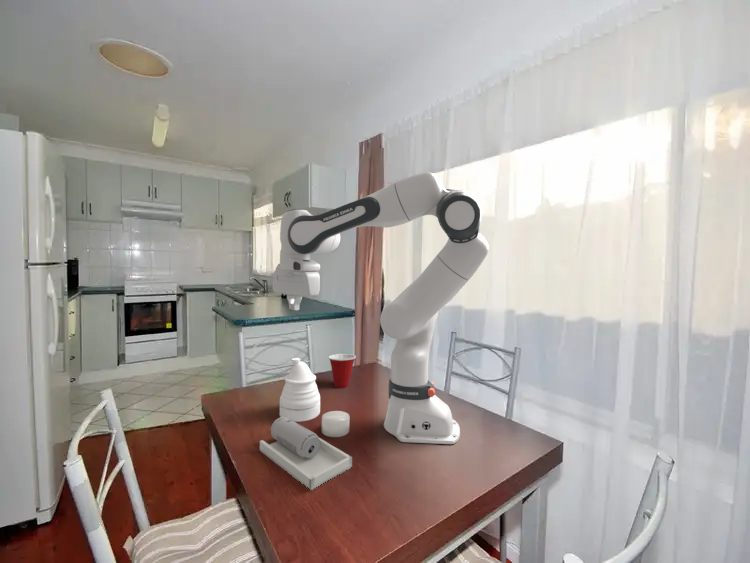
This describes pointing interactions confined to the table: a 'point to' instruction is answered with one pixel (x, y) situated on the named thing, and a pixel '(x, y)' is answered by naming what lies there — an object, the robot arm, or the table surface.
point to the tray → (309, 462)
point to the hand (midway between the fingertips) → (294, 309)
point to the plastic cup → (342, 369)
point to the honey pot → (300, 394)
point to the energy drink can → (295, 437)
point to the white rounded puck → (335, 423)
